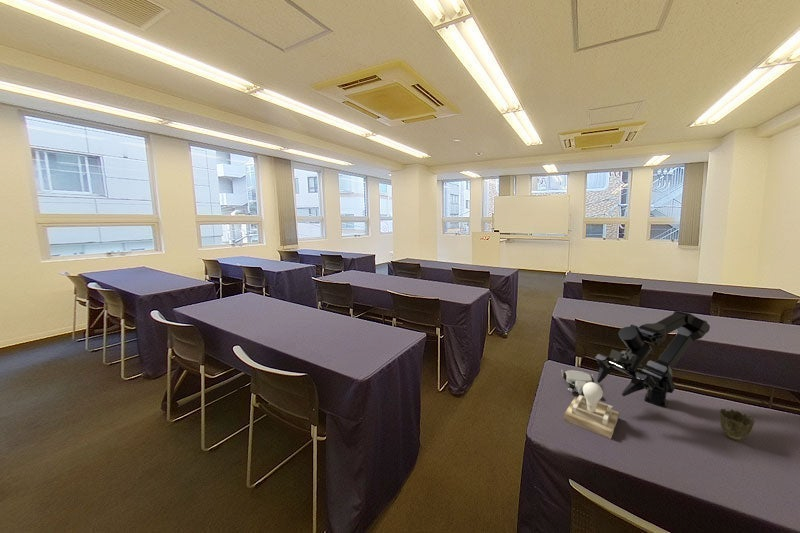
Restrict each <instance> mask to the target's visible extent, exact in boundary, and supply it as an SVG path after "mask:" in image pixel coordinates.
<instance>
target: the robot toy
mask: <svg viewBox="0 0 800 533" xmlns="http://www.w3.org/2000/svg"><path fill="white" fill-rule="evenodd" d="M561 377H562V378H563V379H564V381H566V382H567V383H568V384H569V386H568V388H567V390H568V391H569V392H571V393H572V392H573V391H575V392H576V393H577V392H578V395H582V396H584V393H583V386H584V385H585V384H586V383H588V382H593V383H596V382H595V379H594V375H593V373H591V375H590V374H589V373H587V372H585V371H580V370H572V369H571V370H570V369H569V370H566V371H565V372H563V369H561Z"/></svg>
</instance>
